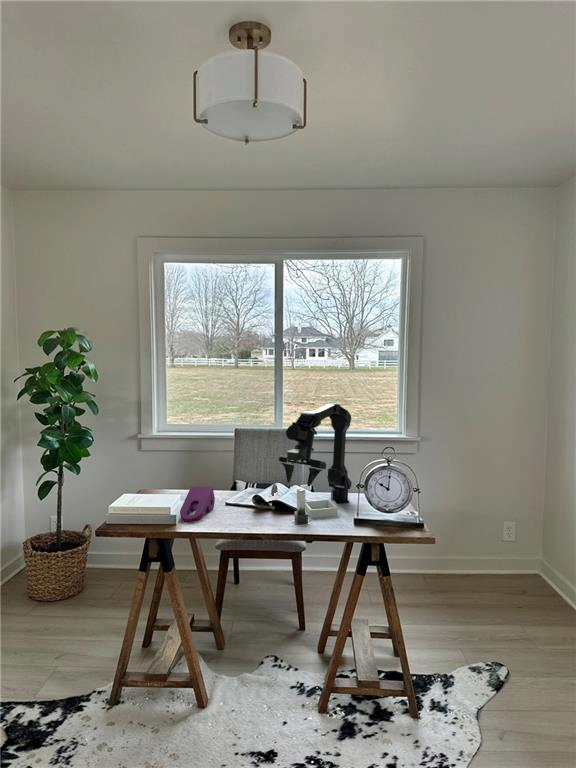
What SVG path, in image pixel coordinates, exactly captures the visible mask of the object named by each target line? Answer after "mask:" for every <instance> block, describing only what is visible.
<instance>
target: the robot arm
mask: <svg viewBox="0 0 576 768" xmlns="http://www.w3.org/2000/svg"><path fill="white" fill-rule="evenodd" d="M327 418H329V419H330V421H331V422H330V425H331V428H332V429H333V431H334V435H333V437H334V438H333V455H332V458H333V459H332V464H331V467H329V468H328V469H327V463H326V461H323V460H318V459H313V458H311V456H312V452H314V448H313V445H314V440H315V439H314V438H315V435H318V432H317V431H316V429H315V428H317V427H319V426H320V425H321V424H322V421H323V420H324V419H327ZM351 421H352V415H351V413H350V412H349V411H348V409H346V408H344V407H343V406H341V404H339V403H337V402H329V403H326V404H325V405H323V406H321V407H319V408H317V409H315V410H308V411H307V410H306V411H302V412H301V413H300V415H299V417H298V419H297V420H296V421H292V422H291V423H292V424H291V425H290V426H288V427H287V429H286V430H285V434H286V437H287V439H288V440H290V441H293V442H297V444H295V446H294V448H293V449H289V450H287V452H286V455H284V454H280V455H279V457H278V462H280V464H281V465H283V468H284V470H285V477H286V482H287V483H288V484H289V483H291V481H292V477H293V472H294V469H295V465H294V464H298V465H299V464H300V465H305V466H309V467H308V470H309V474H308V478H307V483H306V484H307V485H306V486H307V487H308V488H310V487H311V486H312V483H313V482H314V481H315V479H316V478H317V476H318V475H319V474H320V473H321V472H323V470H324V471H325V470H327V477H326V478H327V483H328V487H329V488H331V490H330V501H331V502H332V501H333V502H334V503H335V504H345V503H350V500H349V490H350V489H351V488H352V481H351V479H350V478H349V476H348V472H349V471H348V470H347V467H346V465H345V459H346V458H345V457H346V438H347V437H346V435H347V431H348V429H349V428H350V427H351Z"/></svg>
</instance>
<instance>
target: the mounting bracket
mask: <svg viewBox="0 0 576 768" xmlns="http://www.w3.org/2000/svg"><path fill="white" fill-rule="evenodd" d="M213 488H214V487H210V486H209V487H208V486H194V485H193V486H192V485H191V486H190V488H189V490H188V492H187V494H186V496H185V498H184V501H183V503H182V506H181V508H180V510H179V514H180V518H181V520H182V521H183V522H186V523H195V522H198V521H200V520H201V519H202V518H203V517H204V516H205V513H207V512H209V513H210V512H213V510H214V507H215V500H216V498H215V492H214V489H213ZM190 512H194V513H193V514H192V515H190Z"/></svg>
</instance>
